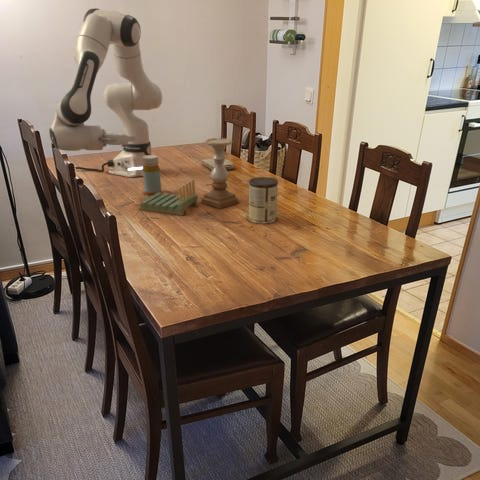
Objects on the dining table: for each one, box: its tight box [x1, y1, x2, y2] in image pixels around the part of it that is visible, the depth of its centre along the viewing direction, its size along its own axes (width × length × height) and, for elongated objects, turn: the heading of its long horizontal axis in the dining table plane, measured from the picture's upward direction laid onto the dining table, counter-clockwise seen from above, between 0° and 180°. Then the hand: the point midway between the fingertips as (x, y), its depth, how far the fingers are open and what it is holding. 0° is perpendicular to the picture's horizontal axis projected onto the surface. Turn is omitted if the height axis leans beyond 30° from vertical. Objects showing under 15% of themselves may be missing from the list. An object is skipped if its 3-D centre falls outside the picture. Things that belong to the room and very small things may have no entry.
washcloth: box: [200, 158, 235, 171], centre depth 242 cm, size 12×18×3 cm, turn 26°
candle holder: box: [200, 137, 239, 209], centre depth 188 cm, size 11×11×24 cm
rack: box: [139, 179, 198, 216], centre depth 185 cm, size 18×14×10 cm
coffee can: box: [248, 176, 279, 225], centre depth 174 cm, size 10×10×14 cm
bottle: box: [142, 154, 162, 196], centre depth 200 cm, size 7×7×15 cm
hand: (130, 137), depth 189 cm, fingers open, 8 cm apart
